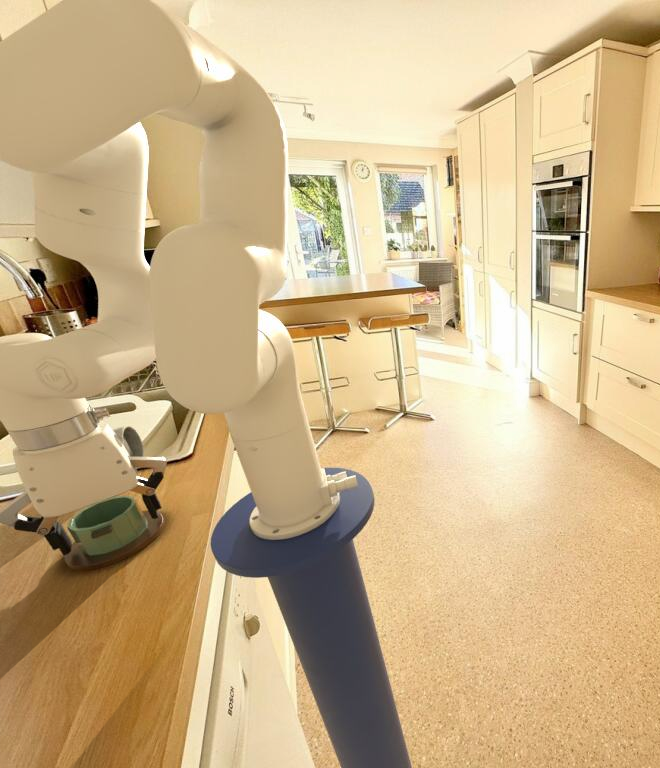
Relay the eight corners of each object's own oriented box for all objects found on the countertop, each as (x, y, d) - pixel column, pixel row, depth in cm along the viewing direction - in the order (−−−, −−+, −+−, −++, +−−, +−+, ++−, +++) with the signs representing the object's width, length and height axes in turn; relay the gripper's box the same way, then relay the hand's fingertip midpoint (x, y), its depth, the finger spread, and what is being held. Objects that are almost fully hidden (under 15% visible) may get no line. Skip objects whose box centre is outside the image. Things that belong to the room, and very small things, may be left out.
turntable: (171, 506, 68) (169, 502, 68) (156, 550, 59) (153, 546, 59) (83, 530, 63) (81, 526, 63) (52, 583, 54) (49, 578, 54)
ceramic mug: (96, 463, 81) (77, 429, 77) (148, 451, 84) (132, 418, 81) (74, 495, 72) (52, 458, 69) (133, 480, 75) (115, 444, 72)
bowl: (86, 534, 61) (72, 510, 60) (147, 512, 65) (136, 489, 64) (78, 568, 55) (62, 543, 54) (146, 542, 59) (133, 517, 58)
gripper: (140, 399, 61) (182, 491, 68) (-41, 445, 51) (31, 549, 58) (143, 415, 56) (189, 513, 63) (-56, 470, 46) (25, 581, 53)
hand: (113, 530), depth 60 cm, fingers open, 9 cm apart
